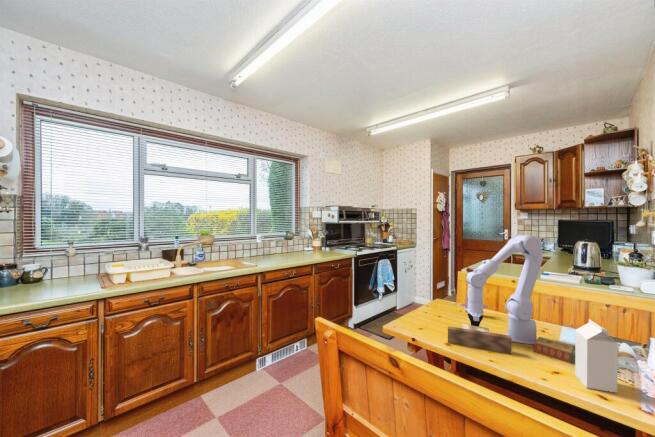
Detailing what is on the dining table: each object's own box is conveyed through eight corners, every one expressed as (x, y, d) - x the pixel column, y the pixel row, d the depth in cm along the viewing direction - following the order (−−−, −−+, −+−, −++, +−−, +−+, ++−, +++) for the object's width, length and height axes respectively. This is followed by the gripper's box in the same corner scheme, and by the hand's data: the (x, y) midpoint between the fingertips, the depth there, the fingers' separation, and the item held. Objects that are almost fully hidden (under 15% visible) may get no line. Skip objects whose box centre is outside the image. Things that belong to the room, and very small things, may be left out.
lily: (492, 320, 136) (488, 300, 141) (481, 315, 130) (478, 295, 135) (468, 320, 145) (465, 302, 149) (457, 316, 139) (455, 298, 143)
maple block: (488, 339, 113) (488, 328, 113) (488, 347, 107) (488, 335, 107) (462, 334, 118) (462, 323, 118) (460, 341, 112) (460, 329, 112)
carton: (538, 346, 108) (538, 335, 108) (595, 362, 96) (595, 350, 96) (533, 353, 103) (533, 342, 103) (592, 371, 91) (592, 359, 91)
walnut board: (510, 351, 104) (510, 335, 104) (511, 354, 102) (511, 338, 101) (447, 340, 113) (447, 326, 113) (447, 342, 111) (447, 328, 111)
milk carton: (586, 388, 82) (587, 326, 81) (574, 375, 88) (575, 317, 88) (617, 393, 79) (618, 329, 79) (603, 379, 86) (603, 320, 85)
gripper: (464, 294, 124) (464, 323, 124) (465, 304, 111) (465, 336, 111) (482, 296, 121) (481, 326, 121) (485, 306, 108) (484, 340, 108)
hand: (474, 331), depth 116 cm, fingers closed, pressing on maple block
